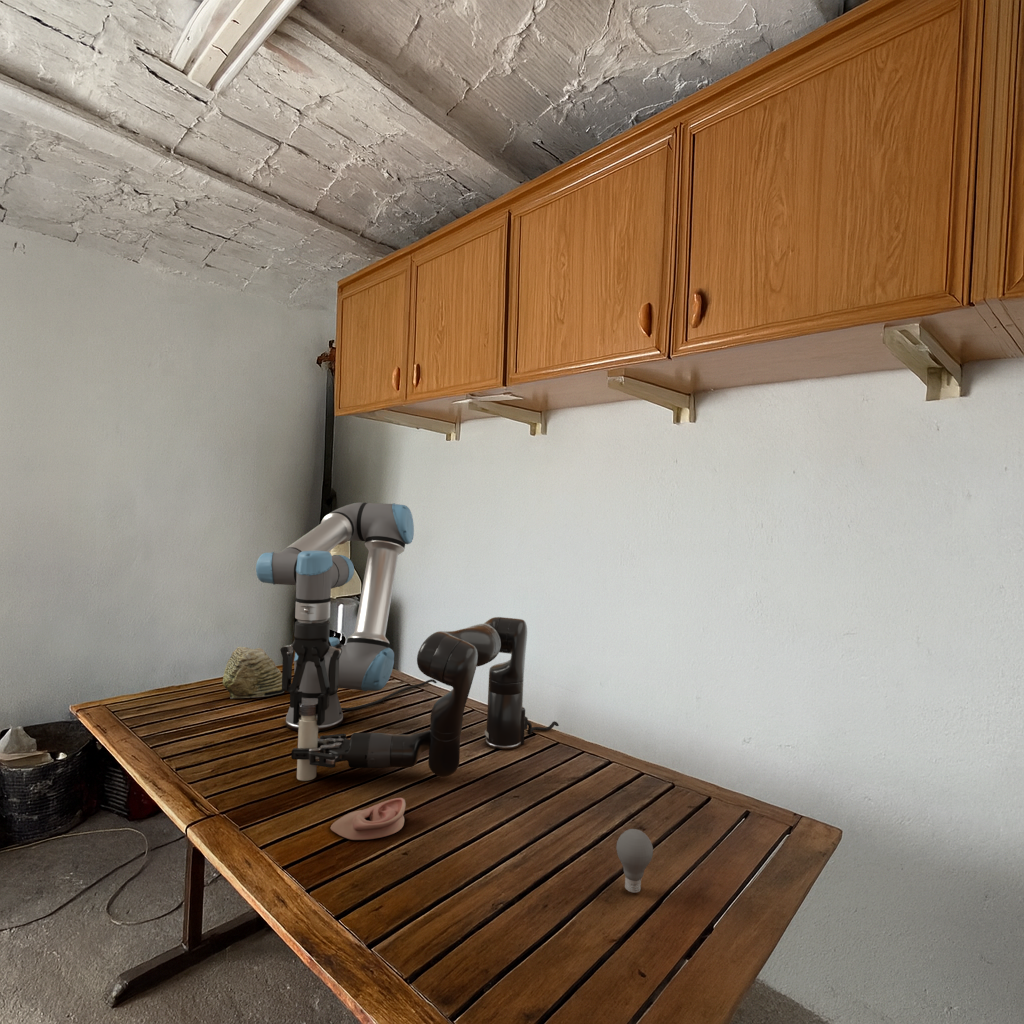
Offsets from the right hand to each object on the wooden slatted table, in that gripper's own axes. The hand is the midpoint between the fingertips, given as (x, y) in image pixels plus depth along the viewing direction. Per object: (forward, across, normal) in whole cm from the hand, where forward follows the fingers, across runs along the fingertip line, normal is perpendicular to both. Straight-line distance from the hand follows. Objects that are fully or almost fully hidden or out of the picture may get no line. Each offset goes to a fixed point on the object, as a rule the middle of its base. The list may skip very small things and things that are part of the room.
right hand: (295, 749), depth 143 cm
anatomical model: (-20, +22, +6) cm, 30 cm away
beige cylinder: (-3, 0, +6) cm, 7 cm away
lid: (-3, 0, -10) cm, 11 cm away
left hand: (-3, 0, -6) cm, 7 cm away
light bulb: (-66, +42, +6) cm, 79 cm away
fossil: (+27, -58, +6) cm, 64 cm away
